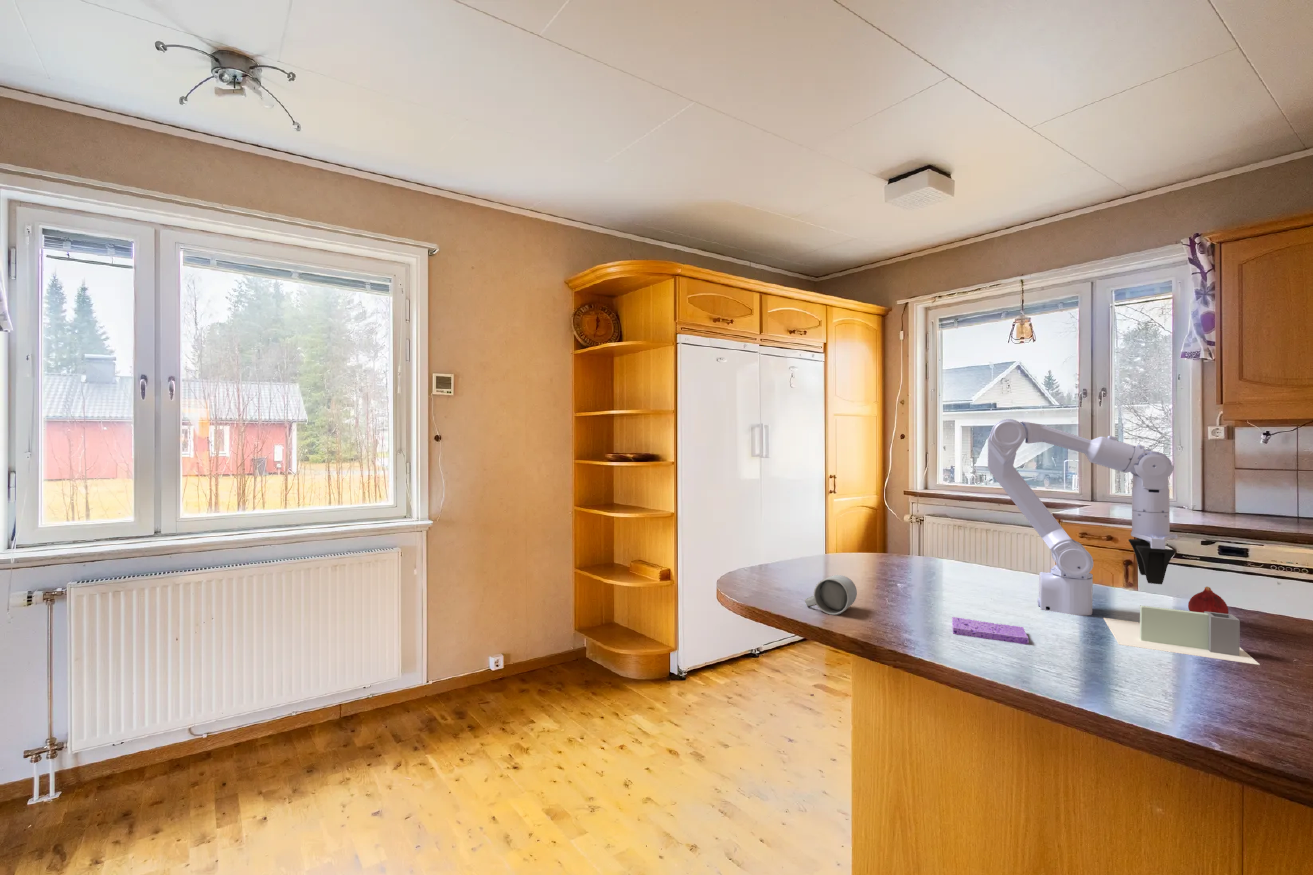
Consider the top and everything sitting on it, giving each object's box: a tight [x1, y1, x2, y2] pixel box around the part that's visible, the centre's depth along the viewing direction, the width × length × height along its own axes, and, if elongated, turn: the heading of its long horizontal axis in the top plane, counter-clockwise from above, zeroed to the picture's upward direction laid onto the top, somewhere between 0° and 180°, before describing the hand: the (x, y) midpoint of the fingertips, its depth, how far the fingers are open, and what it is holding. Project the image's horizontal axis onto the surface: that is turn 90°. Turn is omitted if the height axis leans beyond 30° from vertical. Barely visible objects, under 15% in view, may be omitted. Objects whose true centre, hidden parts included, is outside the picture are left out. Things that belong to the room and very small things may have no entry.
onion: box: [1187, 586, 1230, 614], centre depth 117 cm, size 6×6×8 cm
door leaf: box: [1139, 605, 1241, 656], centre depth 102 cm, size 13×4×6 cm, turn 60°
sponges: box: [951, 616, 1029, 645], centre depth 113 cm, size 7×13×2 cm, turn 63°
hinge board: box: [1102, 617, 1261, 666], centre depth 106 cm, size 18×17×5 cm
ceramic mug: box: [804, 574, 858, 616], centre depth 129 cm, size 11×8×8 cm
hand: (1150, 579), depth 116 cm, fingers open, 7 cm apart
